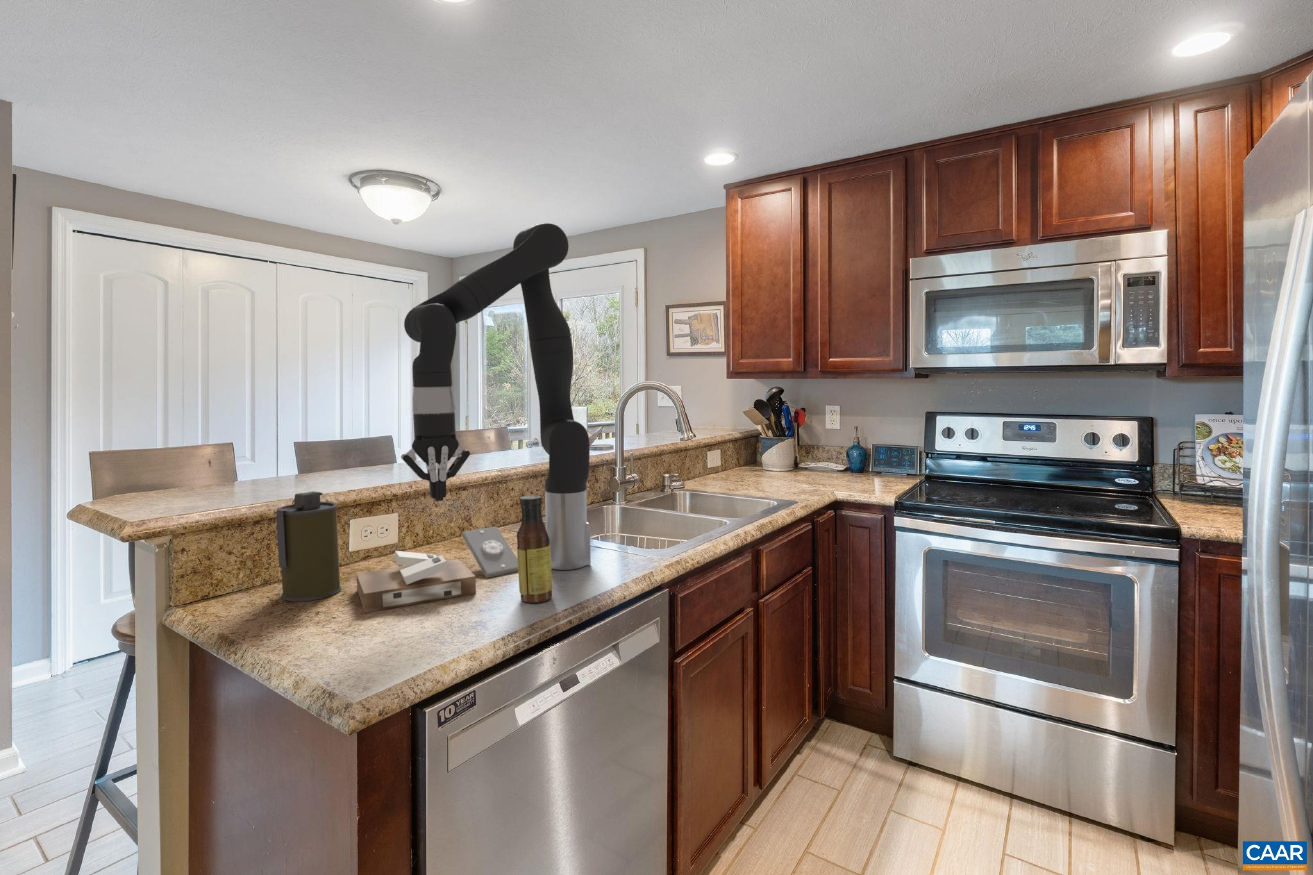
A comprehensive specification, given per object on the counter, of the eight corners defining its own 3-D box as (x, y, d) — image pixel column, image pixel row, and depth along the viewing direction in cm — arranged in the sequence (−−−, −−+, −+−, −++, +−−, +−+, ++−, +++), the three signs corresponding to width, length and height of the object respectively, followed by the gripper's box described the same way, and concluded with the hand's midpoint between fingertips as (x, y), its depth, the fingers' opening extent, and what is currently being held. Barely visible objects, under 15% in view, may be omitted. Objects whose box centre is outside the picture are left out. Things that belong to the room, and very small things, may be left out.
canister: (318, 581, 131) (314, 487, 129) (353, 588, 127) (348, 491, 125) (267, 597, 122) (261, 496, 120) (302, 606, 117) (296, 500, 115)
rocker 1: (433, 562, 132) (435, 553, 132) (438, 568, 128) (440, 559, 128) (393, 558, 128) (395, 549, 128) (397, 564, 124) (399, 555, 124)
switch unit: (459, 574, 136) (458, 559, 135) (477, 594, 123) (476, 577, 123) (357, 590, 126) (356, 573, 125) (365, 613, 113) (364, 594, 113)
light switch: (487, 571, 133) (462, 528, 142) (482, 591, 135) (458, 548, 145) (524, 563, 138) (497, 522, 147) (518, 583, 141) (493, 542, 150)
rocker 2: (443, 562, 125) (440, 553, 125) (448, 568, 121) (446, 559, 121) (402, 577, 122) (399, 569, 121) (406, 584, 117) (403, 576, 117)
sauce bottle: (558, 595, 122) (556, 495, 121) (542, 606, 117) (540, 500, 115) (528, 591, 125) (526, 493, 123) (511, 602, 119) (509, 498, 117)
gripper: (464, 408, 126) (467, 493, 128) (393, 411, 120) (398, 501, 121) (474, 410, 120) (477, 499, 122) (400, 413, 113) (405, 507, 115)
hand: (438, 500), depth 121 cm, fingers closed
